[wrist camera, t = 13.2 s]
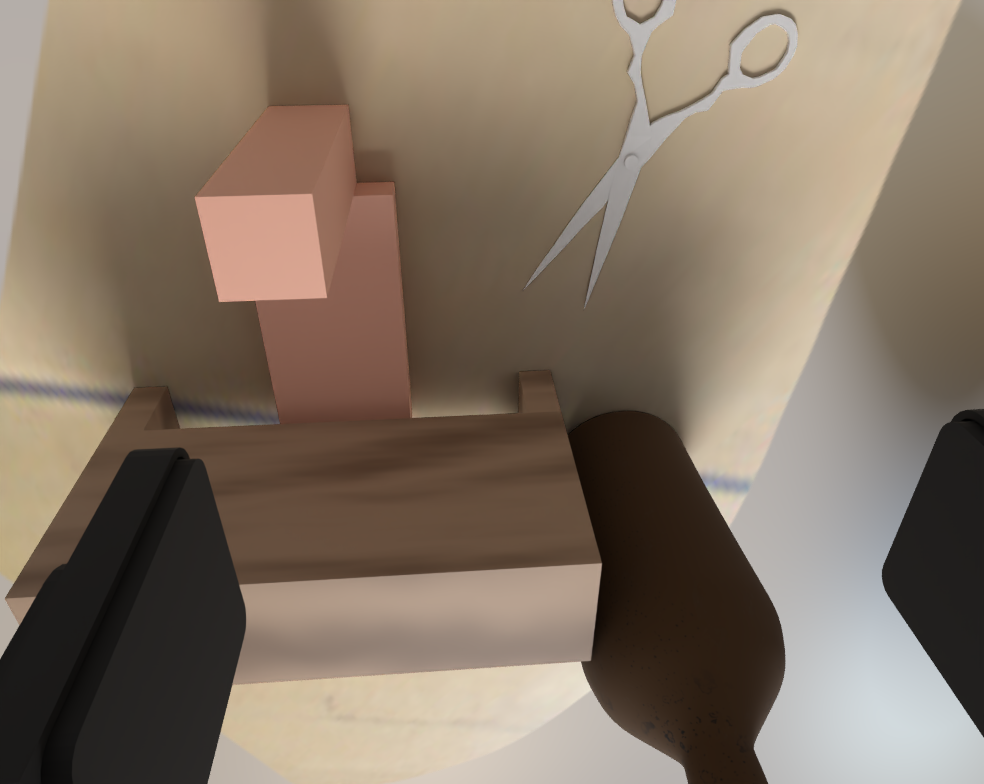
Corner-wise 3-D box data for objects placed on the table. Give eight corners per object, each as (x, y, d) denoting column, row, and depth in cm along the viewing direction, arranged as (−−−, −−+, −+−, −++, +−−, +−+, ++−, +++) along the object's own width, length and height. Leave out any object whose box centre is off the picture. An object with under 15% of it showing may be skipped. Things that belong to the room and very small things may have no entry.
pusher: (228, 106, 36) (135, 198, 25) (388, 103, 37) (370, 192, 25) (288, 414, 47) (242, 580, 35) (412, 409, 47) (407, 571, 36)
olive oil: (663, 377, 48) (846, 738, 27) (709, 484, 53) (891, 852, 32) (517, 441, 50) (582, 823, 29) (576, 537, 55) (667, 917, 34)
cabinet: (134, 387, 45) (4, 598, 31) (550, 370, 47) (602, 563, 33) (166, 486, 49) (65, 708, 36) (545, 466, 51) (589, 673, 37)
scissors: (828, -2, 36) (629, 334, 45) (821, -4, 36) (626, 328, 46) (642, -108, 33) (472, 275, 42) (638, -107, 33) (471, 270, 43)
